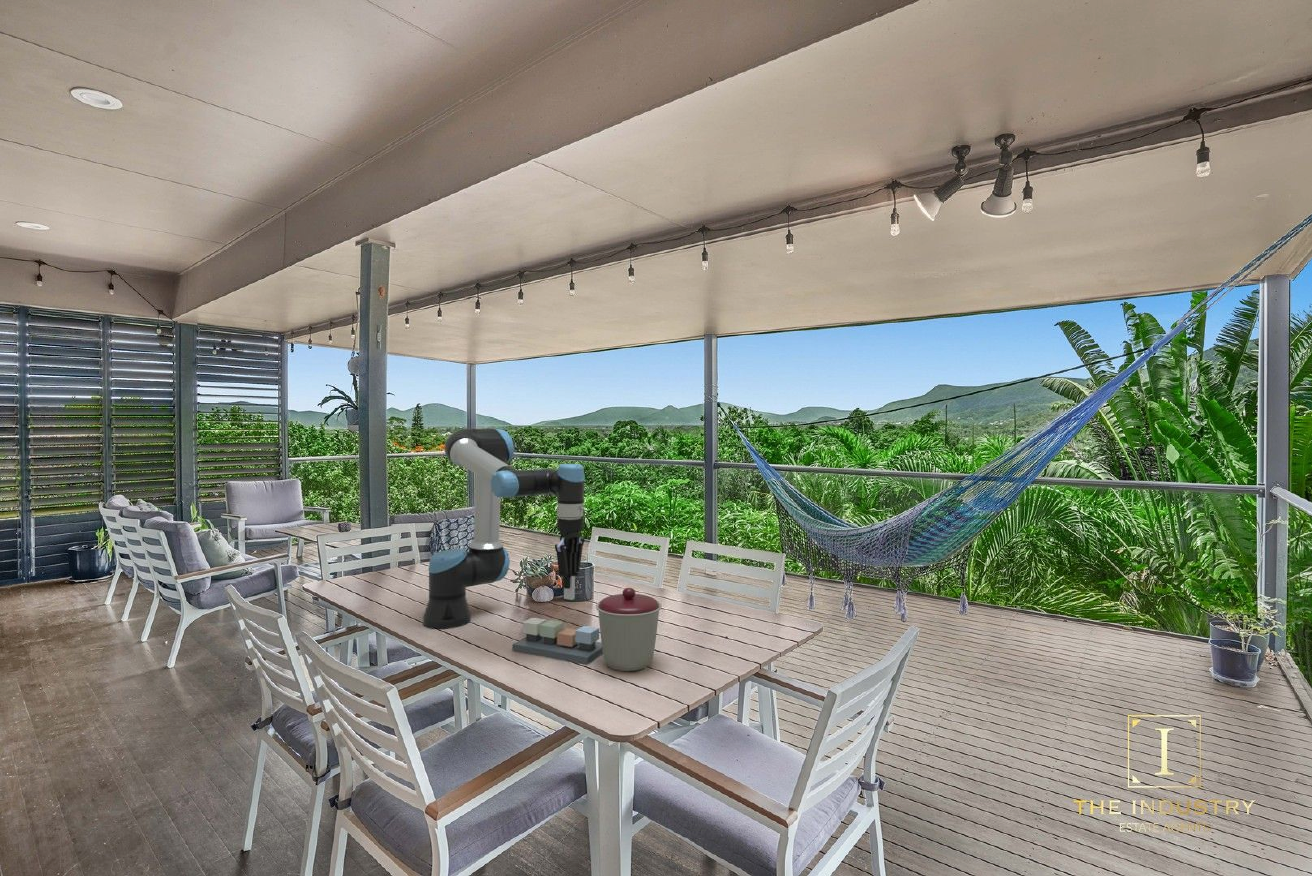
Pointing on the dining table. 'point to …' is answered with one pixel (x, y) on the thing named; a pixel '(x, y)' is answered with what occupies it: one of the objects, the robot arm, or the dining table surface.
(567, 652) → the keypad board
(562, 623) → the key sage
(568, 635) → the key terracotta
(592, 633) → the key blue
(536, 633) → the key ivory
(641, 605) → the canister
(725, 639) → the dining table surface
